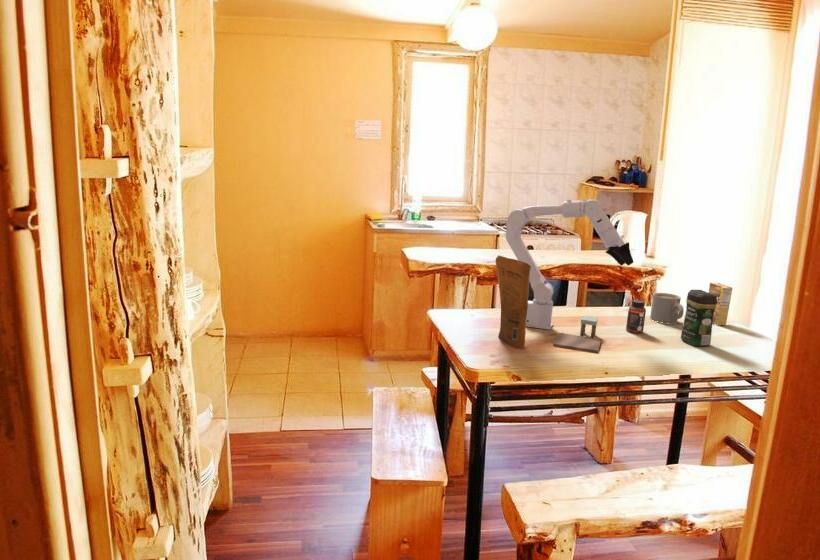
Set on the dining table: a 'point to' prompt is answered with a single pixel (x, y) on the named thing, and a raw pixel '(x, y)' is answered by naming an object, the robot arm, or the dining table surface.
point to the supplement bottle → (636, 317)
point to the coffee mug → (666, 308)
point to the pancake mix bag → (513, 299)
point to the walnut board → (577, 342)
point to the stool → (588, 321)
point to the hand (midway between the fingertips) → (627, 264)
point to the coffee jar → (699, 318)
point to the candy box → (721, 302)
